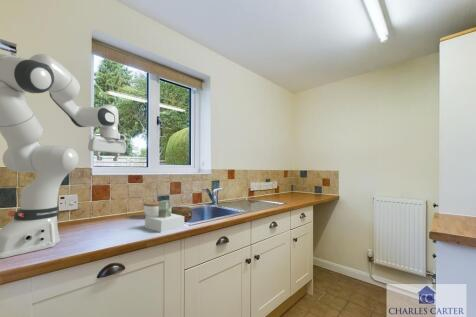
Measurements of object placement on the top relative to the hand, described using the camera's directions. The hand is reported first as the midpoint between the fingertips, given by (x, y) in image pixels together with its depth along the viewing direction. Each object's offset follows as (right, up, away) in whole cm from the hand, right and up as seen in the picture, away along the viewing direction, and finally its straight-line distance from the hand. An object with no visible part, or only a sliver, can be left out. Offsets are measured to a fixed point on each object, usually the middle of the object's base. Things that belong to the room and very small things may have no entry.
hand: (107, 160), depth 122 cm
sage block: (+32, -29, -4) cm, 43 cm away
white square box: (+32, -35, -4) cm, 48 cm away
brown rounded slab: (+37, -36, +11) cm, 52 cm away
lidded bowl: (+18, -36, +19) cm, 44 cm away
